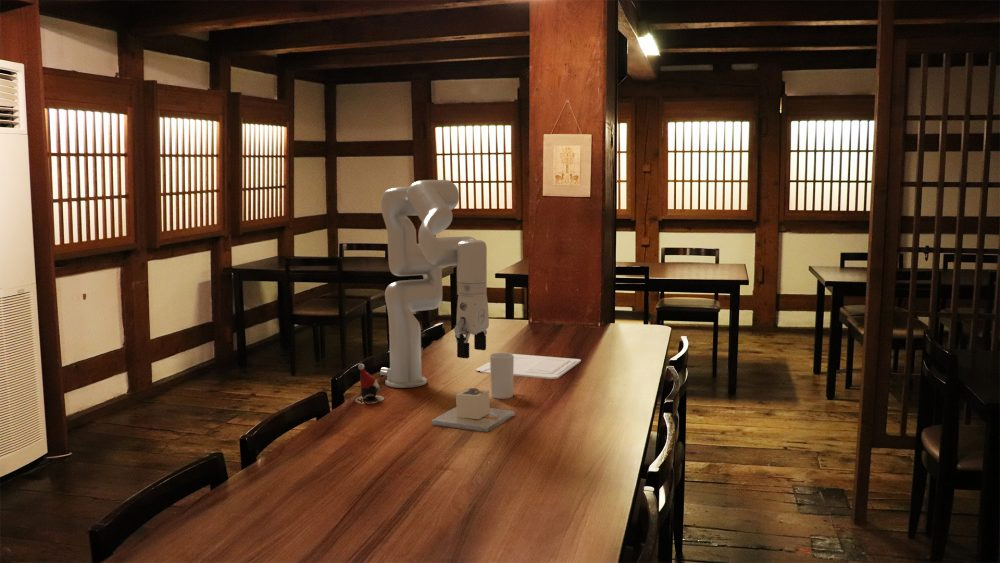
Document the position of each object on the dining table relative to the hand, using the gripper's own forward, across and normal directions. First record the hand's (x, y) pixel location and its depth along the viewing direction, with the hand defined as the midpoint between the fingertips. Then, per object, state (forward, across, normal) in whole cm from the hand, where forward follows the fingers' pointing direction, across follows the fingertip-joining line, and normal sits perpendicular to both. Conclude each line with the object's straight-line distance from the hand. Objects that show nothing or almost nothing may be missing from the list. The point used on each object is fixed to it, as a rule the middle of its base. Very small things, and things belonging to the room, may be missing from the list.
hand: (471, 353), depth 221 cm
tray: (+20, +61, +10) cm, 65 cm away
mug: (+18, +25, +2) cm, 31 cm away
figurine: (+19, +5, +35) cm, 40 cm away
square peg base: (+18, 0, -1) cm, 18 cm away
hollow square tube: (+16, 0, -1) cm, 16 cm away
